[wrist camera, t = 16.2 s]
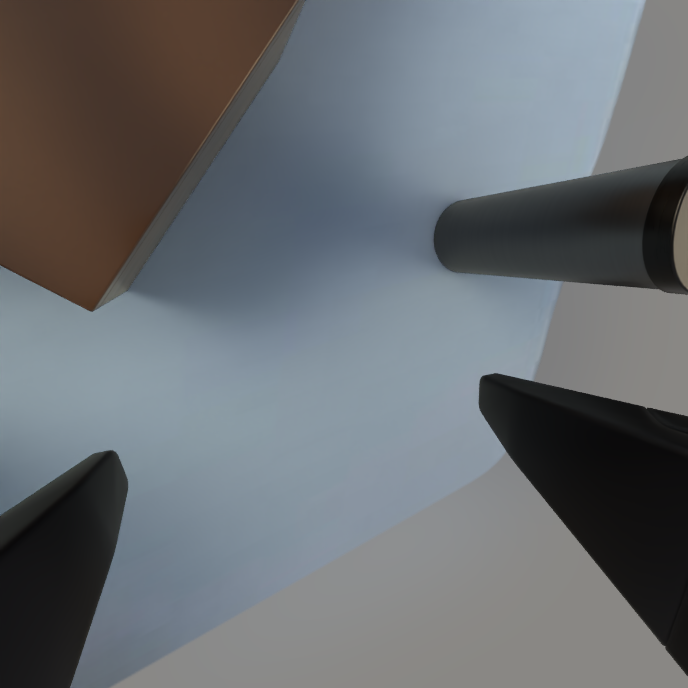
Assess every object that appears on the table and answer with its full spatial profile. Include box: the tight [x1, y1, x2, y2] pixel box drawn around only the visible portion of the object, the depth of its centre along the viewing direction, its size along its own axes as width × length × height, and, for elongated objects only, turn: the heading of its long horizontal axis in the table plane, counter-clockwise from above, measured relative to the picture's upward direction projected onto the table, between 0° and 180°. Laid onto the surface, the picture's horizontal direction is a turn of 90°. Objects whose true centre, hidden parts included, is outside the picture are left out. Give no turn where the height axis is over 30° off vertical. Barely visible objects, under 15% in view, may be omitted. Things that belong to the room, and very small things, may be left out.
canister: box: [434, 156, 688, 295], centre depth 18 cm, size 5×5×13 cm
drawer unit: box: [0, 0, 306, 312], centre depth 12 cm, size 13×12×6 cm
